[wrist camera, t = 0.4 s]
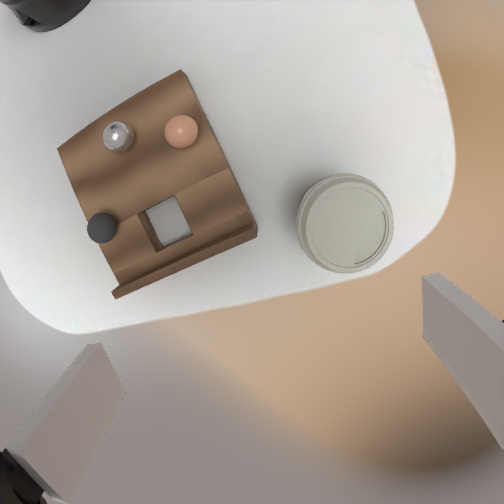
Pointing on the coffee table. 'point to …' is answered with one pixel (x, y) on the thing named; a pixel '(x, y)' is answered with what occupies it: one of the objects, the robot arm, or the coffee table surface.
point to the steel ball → (118, 137)
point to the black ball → (101, 228)
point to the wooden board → (157, 186)
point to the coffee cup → (344, 223)
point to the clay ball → (181, 131)
